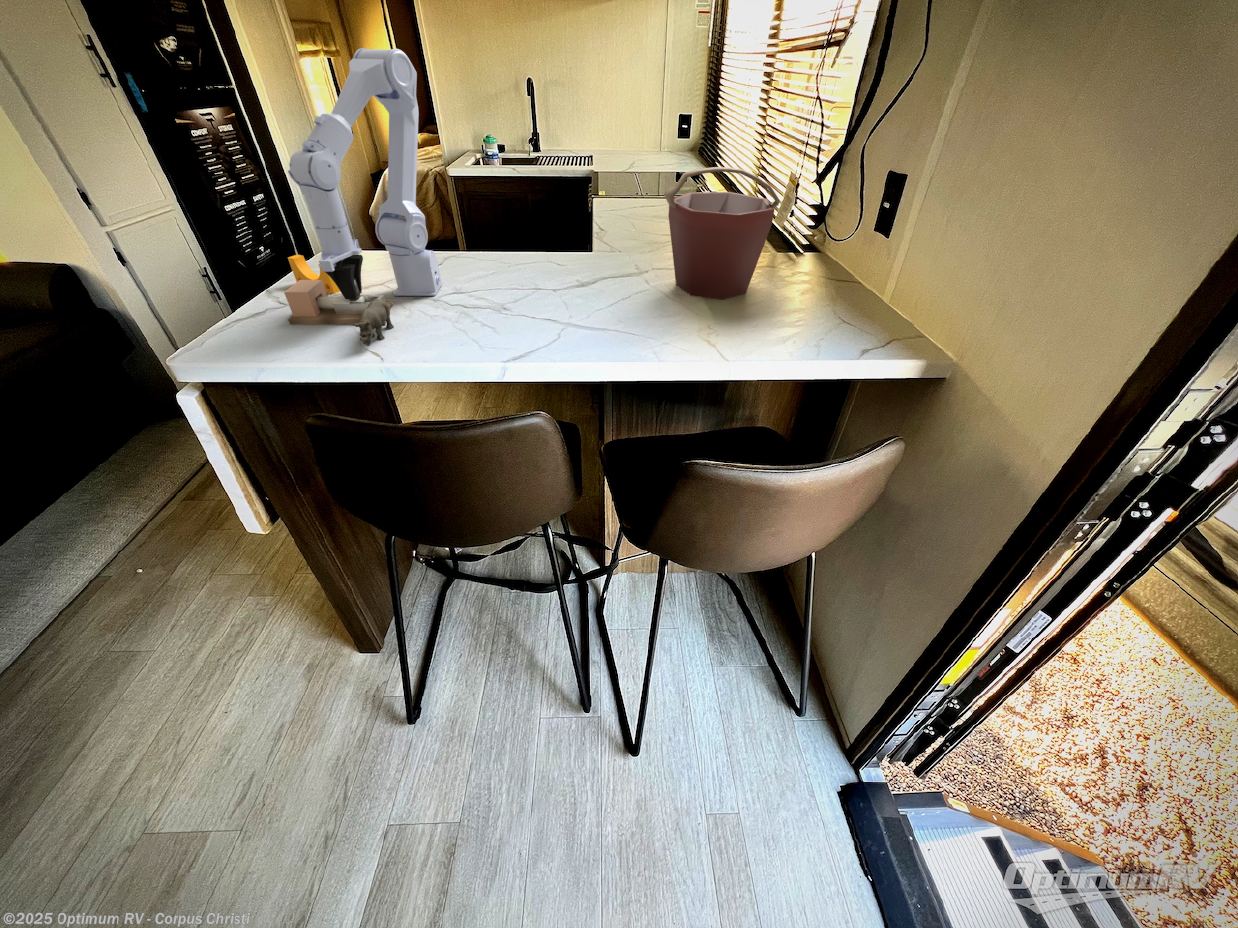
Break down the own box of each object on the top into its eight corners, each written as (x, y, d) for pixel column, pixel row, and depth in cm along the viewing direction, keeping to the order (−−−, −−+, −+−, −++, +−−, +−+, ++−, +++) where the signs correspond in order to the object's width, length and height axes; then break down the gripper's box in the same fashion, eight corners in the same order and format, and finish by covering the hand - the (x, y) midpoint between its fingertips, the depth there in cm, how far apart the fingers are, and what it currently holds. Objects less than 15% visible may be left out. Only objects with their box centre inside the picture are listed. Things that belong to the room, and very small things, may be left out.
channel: (386, 305, 109) (383, 295, 108) (379, 313, 105) (376, 303, 104) (344, 305, 109) (341, 295, 107) (336, 314, 105) (332, 303, 104)
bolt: (366, 306, 108) (358, 277, 104) (362, 310, 106) (353, 282, 102) (323, 306, 107) (313, 277, 104) (318, 310, 106) (307, 282, 102)
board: (392, 305, 112) (391, 300, 111) (377, 323, 104) (376, 319, 103) (310, 305, 111) (309, 300, 110) (289, 324, 103) (287, 319, 103)
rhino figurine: (352, 354, 94) (342, 322, 90) (377, 323, 105) (369, 294, 101) (375, 354, 94) (365, 322, 90) (398, 323, 105) (390, 294, 101)
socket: (330, 303, 109) (321, 280, 106) (316, 316, 104) (307, 292, 101) (308, 303, 109) (299, 280, 106) (293, 316, 104) (284, 292, 101)
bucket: (650, 295, 119) (657, 173, 103) (671, 266, 135) (680, 157, 120) (758, 308, 113) (782, 182, 98) (766, 276, 130) (787, 164, 114)
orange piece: (349, 288, 120) (340, 260, 116) (334, 294, 117) (324, 265, 113) (313, 280, 124) (304, 252, 120) (298, 285, 121) (287, 257, 117)
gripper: (338, 235, 91) (361, 309, 100) (365, 216, 103) (384, 283, 111) (297, 235, 91) (324, 309, 99) (329, 215, 102) (351, 283, 111)
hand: (353, 296), depth 105 cm, fingers closed on bolt, 2 cm apart
